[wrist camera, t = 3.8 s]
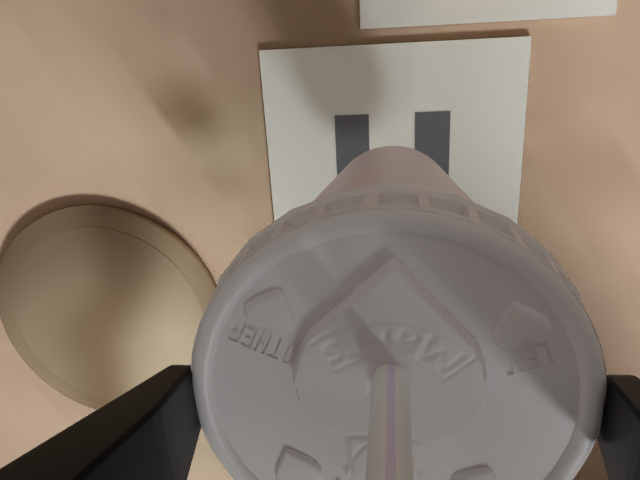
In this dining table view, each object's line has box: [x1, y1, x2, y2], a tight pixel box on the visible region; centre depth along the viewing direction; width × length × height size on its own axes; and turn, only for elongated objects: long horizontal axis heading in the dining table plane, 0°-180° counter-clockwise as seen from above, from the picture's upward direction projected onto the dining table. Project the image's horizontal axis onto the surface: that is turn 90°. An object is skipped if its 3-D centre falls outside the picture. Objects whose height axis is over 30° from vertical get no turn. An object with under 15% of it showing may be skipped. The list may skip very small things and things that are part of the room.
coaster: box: [0, 205, 217, 410], centre depth 25 cm, size 10×10×1 cm
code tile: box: [259, 36, 532, 224], centre depth 21 cm, size 9×9×1 cm
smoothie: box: [191, 146, 607, 480], centre depth 11 cm, size 6×6×14 cm
